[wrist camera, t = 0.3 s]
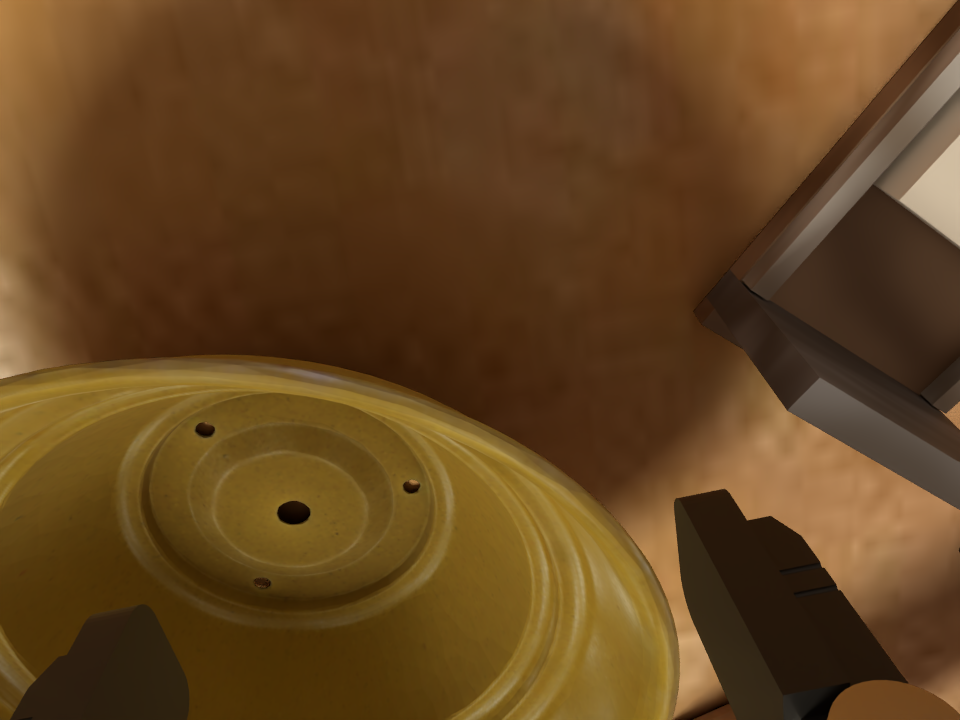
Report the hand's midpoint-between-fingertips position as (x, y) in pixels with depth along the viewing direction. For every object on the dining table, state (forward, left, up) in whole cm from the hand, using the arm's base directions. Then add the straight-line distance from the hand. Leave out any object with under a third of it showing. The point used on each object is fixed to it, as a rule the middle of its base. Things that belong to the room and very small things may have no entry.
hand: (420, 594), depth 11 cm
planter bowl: (+19, 0, -23) cm, 29 cm away
